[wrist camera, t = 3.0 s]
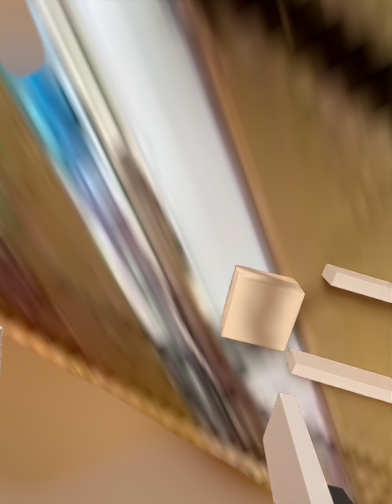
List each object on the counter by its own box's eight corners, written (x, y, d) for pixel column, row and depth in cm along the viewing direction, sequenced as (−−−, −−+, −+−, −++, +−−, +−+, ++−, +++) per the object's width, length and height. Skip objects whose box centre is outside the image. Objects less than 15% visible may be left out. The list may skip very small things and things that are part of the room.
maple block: (221, 316, 36) (221, 336, 32) (235, 264, 34) (238, 277, 30) (276, 330, 36) (284, 351, 32) (294, 278, 34) (305, 293, 30)
